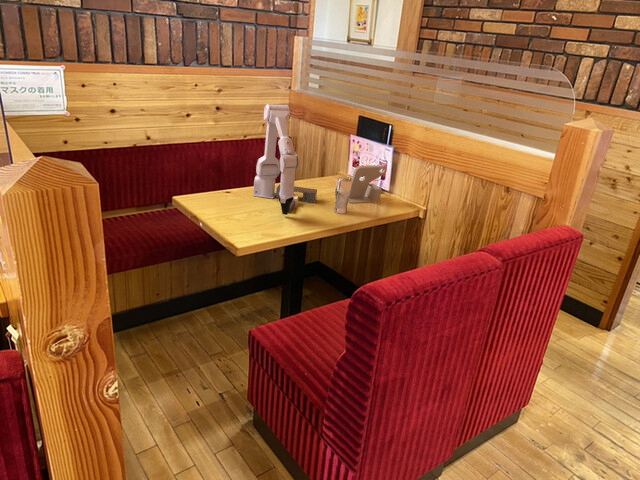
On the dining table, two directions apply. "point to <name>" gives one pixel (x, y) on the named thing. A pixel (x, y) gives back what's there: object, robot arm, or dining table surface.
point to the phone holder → (366, 184)
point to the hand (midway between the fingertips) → (285, 214)
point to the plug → (293, 203)
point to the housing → (308, 193)
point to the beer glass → (342, 194)
